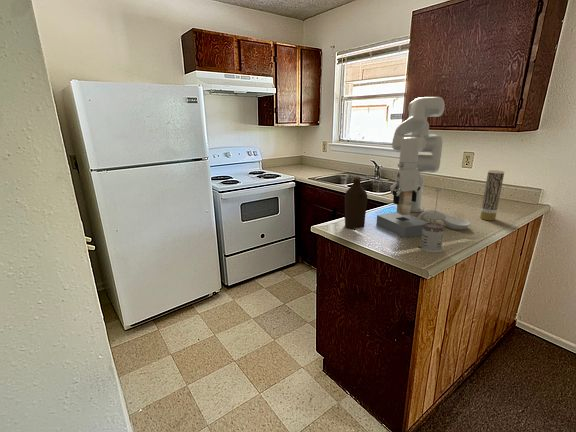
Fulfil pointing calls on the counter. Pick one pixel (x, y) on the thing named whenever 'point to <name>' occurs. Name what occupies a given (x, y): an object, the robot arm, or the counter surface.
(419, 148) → the robot arm
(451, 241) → the counter surface
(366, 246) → the counter surface
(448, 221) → the spoon rest
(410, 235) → the socket block
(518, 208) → the counter surface
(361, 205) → the olive oil
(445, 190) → the counter surface
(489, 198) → the paper tube
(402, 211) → the plug
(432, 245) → the french press
